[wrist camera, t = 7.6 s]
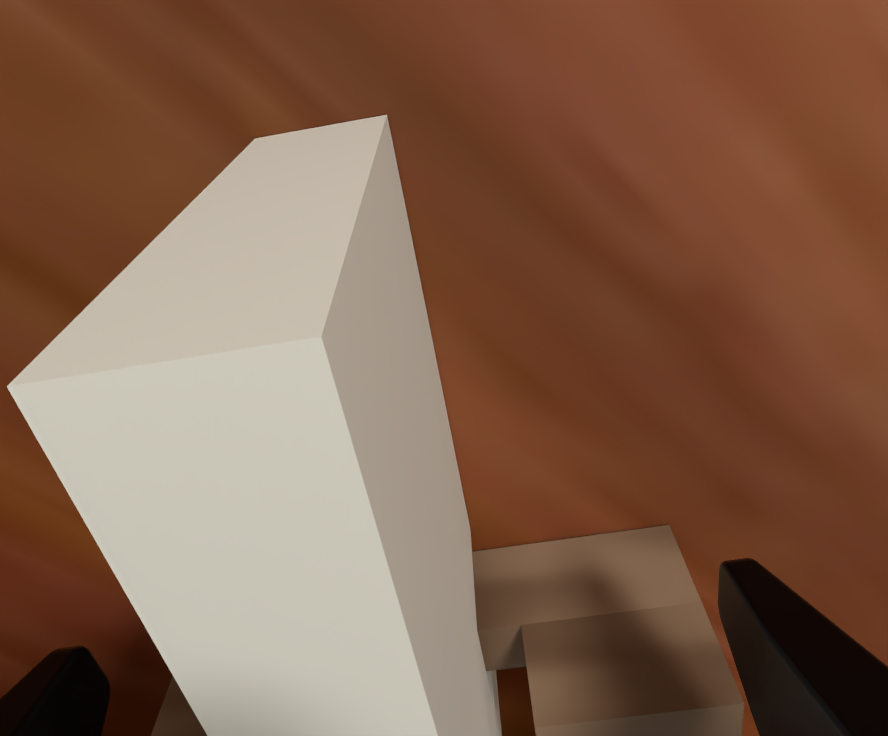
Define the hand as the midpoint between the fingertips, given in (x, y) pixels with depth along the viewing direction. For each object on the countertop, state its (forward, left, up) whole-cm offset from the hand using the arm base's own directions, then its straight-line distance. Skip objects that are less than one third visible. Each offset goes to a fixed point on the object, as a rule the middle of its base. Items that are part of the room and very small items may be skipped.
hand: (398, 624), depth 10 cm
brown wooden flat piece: (0, -4, -4) cm, 5 cm away
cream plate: (0, 0, -4) cm, 4 cm away
